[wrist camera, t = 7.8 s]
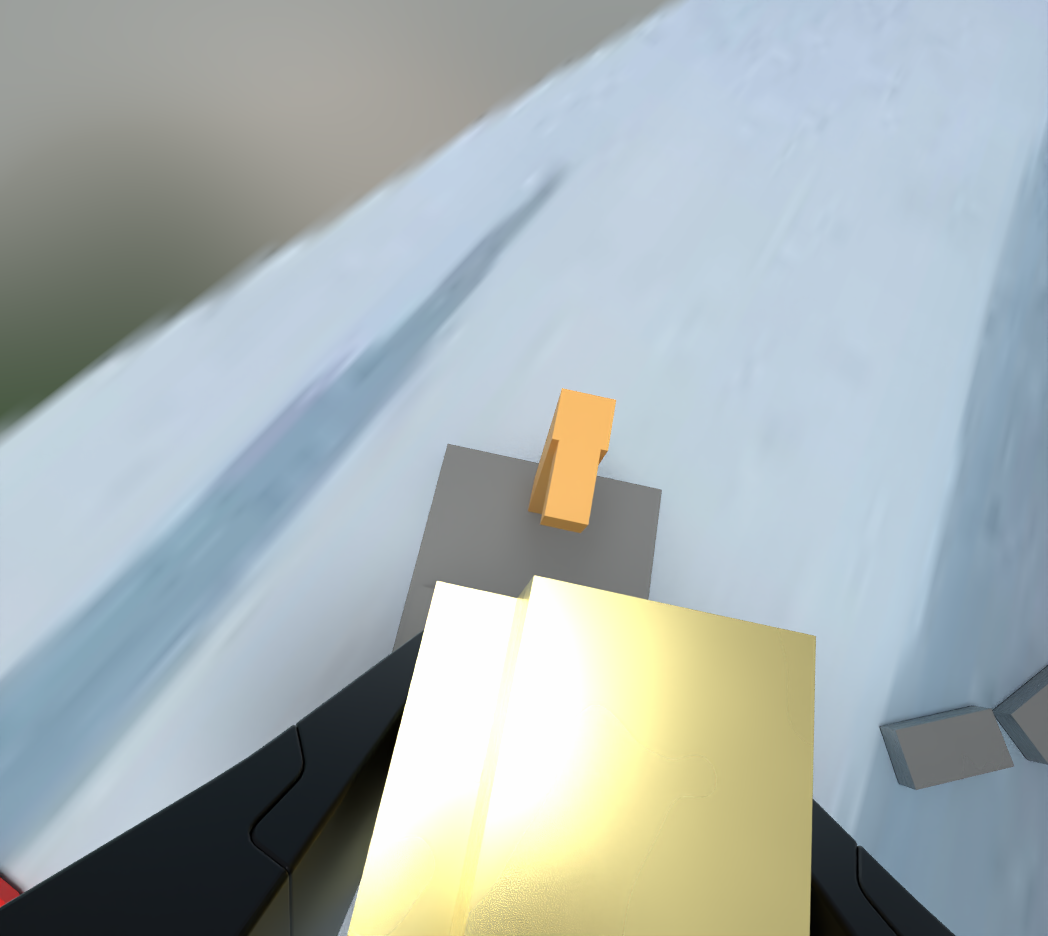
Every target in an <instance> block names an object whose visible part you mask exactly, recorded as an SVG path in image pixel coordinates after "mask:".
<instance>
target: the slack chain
mask: <svg viewBox="0 0 1048 936" xmlns="http://www.w3.org/2000/svg"><path fill="white" fill-rule="evenodd" d="M995 717H996V718H997V720H998V721H999V722H1000V724H1001V725H1002V726H1003V728H1004V729H1005V730H1006V732H1007V733H1008V734H1009V736H1010V737H1011V738H1012V740H1013V741H1014V742H1015V744H1016V745H1017V746H1018V748H1019V749H1020V750H1021V752H1022V753H1023V754H1024V756H1025V757H1026V758H1027V760H1030V761H1034V762H1038V763H1043V764H1047V765H1048V666H1047V667H1046V668H1044V669H1043V670H1042V671H1041V672H1039V673H1038V674H1037V675H1036V676H1035V677H1033V678H1032V679H1031V680H1030V681H1028V682H1027V683H1026V684H1025V685H1024V686H1022V687H1021V688H1020V689H1019V690H1017V691H1016V692H1015V693H1014V694H1012V695H1011V696H1010V697H1009V698H1008V699H1006V700H1005V701H1004V702H1003V703H1001V704H1000V705H999V706H998V707H997V708H995V709H994V710H993V711H992V709H991V708H984V707H977V706H970V707H965V708H961V709H956V710H952V711H947V712H943V713H938V714H934V715H929V716H925V717H920V718H916V719H911V720H907V721H902V722H898V723H893V724H889V725H884V726H880V729H881V732H882V735H883V737H884V740H885V743H886V746H887V749H888V752H889V755H890V758H891V761H892V764H893V767H894V770H895V773H896V776H897V779H898V782H899V784H901V785H904V786H907V787H909V788H912V789H915V790H918V789H922V788H926V787H930V786H934V785H939V784H943V783H947V782H951V781H955V780H959V779H964V778H968V777H972V776H976V775H980V774H984V773H989V772H993V771H997V770H1001V769H1005V768H1009V767H1013V766H1014V764H1013V761H1012V759H1011V756H1010V754H1009V751H1008V749H1007V746H1006V744H1005V741H1004V739H1003V736H1002V734H1001V731H1000V729H999V726H998V724H997V721H996V719H995Z"/></svg>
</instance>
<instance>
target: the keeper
mask: <svg viewBox="0 0 1048 936" xmlns="http://www.w3.org/2000/svg"><path fill="white" fill-rule="evenodd" d="M615 404H616V400H614V399H609V398H605V397H600V396H595V395H591V394H586V393H581V392H577V391H572V390H567V389H563V388H562V390H561V394H560V397H559V400H558V403H557V407H556V410H555V413H554V416H553V420H552V423H551V426H550V429H549V433H548V436H547V439H546V442H545V446H544V449H543V452H542V455H541V459H540V462H539V463H535V462H530V461H525V460H521V459H516V458H511V457H507V456H502V455H497V454H493V453H488V452H483V451H479V450H474V449H469V448H465V447H460V446H456V445H451V444H448V445H447V449H446V452H445V456H444V460H443V464H442V467H441V471H440V475H439V479H438V482H437V486H436V490H435V494H434V497H433V501H432V505H431V509H430V512H429V516H428V520H427V524H426V527H425V531H424V535H423V539H422V542H421V546H420V550H419V554H418V557H417V561H416V565H415V569H414V572H413V576H412V580H411V584H410V587H409V591H408V595H407V599H406V602H405V606H404V610H403V614H402V617H401V621H400V625H399V629H398V632H397V636H396V640H395V644H394V647H393V651H392V652H394V651H395V650H396V649H398V648H399V647H400V646H402V645H403V644H405V643H406V642H407V641H409V640H410V639H411V638H413V637H414V636H415V635H417V634H418V633H419V632H421V631H422V630H424V629H425V627H426V623H427V619H428V615H429V611H430V607H431V603H432V599H433V595H434V591H435V587H436V583H437V581H438V582H443V583H448V584H452V585H457V586H461V587H466V588H471V589H475V590H480V591H485V592H489V593H494V594H499V595H503V596H508V597H513V598H518V596H519V595H520V594H521V592H522V591H523V590H524V588H525V587H526V586H527V584H528V583H529V582H530V580H531V579H532V578H533V576H539V577H544V578H548V579H553V580H558V581H562V582H567V583H571V584H576V585H581V586H585V587H590V588H595V589H599V590H604V591H609V592H613V593H618V594H623V595H627V596H632V597H636V598H641V599H646V600H648V597H649V588H650V580H651V572H652V564H653V556H654V548H655V540H656V532H657V524H658V516H659V508H660V500H661V492H662V490H660V489H656V488H651V487H646V486H642V485H637V484H632V483H628V482H623V481H618V480H614V479H609V478H604V477H600V476H597V470H598V465H599V463H600V462H601V460H602V459H603V457H604V456H605V454H606V453H607V451H608V447H609V441H610V434H611V428H612V422H613V416H614V410H615Z"/></svg>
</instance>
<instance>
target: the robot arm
mask: <svg viewBox="0 0 1048 936" xmlns="http://www.w3.org/2000/svg"><path fill="white" fill-rule="evenodd" d="M424 631H425V629H424V630H422V631H421V632H419V633H418V634H417V635H415V636H414V637H413V638H411V639H410V640H409V641H407V642H406V643H405V644H403V645H402V646H400V647H399V648H398V649H396V650H395V651H394V652H392V653H391V654H390V655H388V656H387V657H386V658H384V659H383V660H382V661H380V662H379V663H377V664H376V665H375V666H373V667H372V668H371V669H369V670H368V671H367V672H365V673H364V674H363V675H361V676H360V677H358V678H357V679H356V680H354V681H353V682H352V683H350V684H349V685H348V686H346V687H345V688H344V689H342V690H341V691H340V692H338V693H337V694H335V695H334V696H333V697H331V698H330V699H329V700H327V701H326V702H325V703H323V704H322V705H321V706H319V707H318V708H316V709H315V710H314V711H312V712H311V713H310V714H308V715H307V716H306V717H304V718H303V719H302V720H300V721H299V722H298V723H297V724H296V726H295V725H293V726H291V727H290V728H288V729H287V730H286V731H284V732H283V733H282V734H280V735H279V736H277V737H276V738H275V739H273V740H272V741H270V742H269V743H268V744H266V745H265V746H263V747H262V748H260V749H259V750H258V751H256V752H255V753H253V754H252V755H250V756H249V757H247V758H246V759H244V760H243V761H241V762H240V763H238V764H236V765H235V766H233V767H232V768H230V769H229V770H227V771H225V772H224V773H222V774H221V775H219V776H217V777H216V778H214V779H213V780H211V781H209V782H208V783H206V784H204V785H203V786H201V787H199V788H198V789H196V790H194V791H193V792H191V793H189V794H188V795H186V796H184V797H183V798H181V799H179V800H178V801H176V802H174V803H173V804H171V805H169V806H168V807H166V808H164V809H163V810H161V811H159V812H158V813H156V814H154V815H153V816H151V817H149V818H148V819H146V820H144V821H143V822H141V823H139V824H138V825H136V826H134V827H133V828H131V829H129V830H128V831H126V832H124V833H123V834H121V835H119V836H118V837H116V838H114V839H113V840H111V841H109V842H108V843H106V844H104V845H103V846H101V847H99V848H98V849H96V850H94V851H93V852H91V853H89V854H88V855H86V856H84V857H83V858H81V859H79V860H78V861H76V862H74V863H73V864H71V865H69V866H68V867H66V868H64V869H63V870H61V871H59V872H58V873H56V874H54V875H53V876H51V877H49V878H48V879H46V880H44V881H43V882H41V883H39V884H38V885H36V886H34V887H33V888H31V889H29V890H28V891H26V892H24V893H23V894H21V895H19V896H18V897H16V898H14V899H13V900H11V901H9V902H8V903H6V904H4V905H3V906H1V907H0V936H337V935H338V933H339V931H340V928H341V926H342V924H343V921H344V919H345V916H346V914H347V912H348V909H349V907H350V905H351V902H352V900H353V898H354V895H355V893H356V891H357V888H358V886H359V883H360V881H361V879H362V875H363V871H364V868H365V864H366V860H367V856H368V852H369V848H370V844H371V840H372V836H373V832H374V828H375V824H376V820H377V816H378V812H379V808H380V804H381V800H382V796H383V793H384V789H385V785H386V781H387V777H388V773H389V769H390V765H391V761H392V757H393V753H394V749H395V745H396V741H397V737H398V733H399V729H400V725H401V722H402V718H403V714H404V710H405V706H406V702H407V698H408V694H409V690H410V686H411V682H412V678H413V674H414V670H415V666H416V662H417V658H418V654H419V650H420V647H421V643H422V639H423V635H424ZM810 936H955V935H954V934H953V933H952V932H951V931H950V930H949V929H948V928H947V927H945V926H944V925H943V924H942V923H941V922H940V921H939V920H938V919H937V918H936V917H935V916H933V915H932V914H931V913H930V912H929V911H928V910H927V909H926V908H925V907H924V906H923V905H921V904H920V903H919V902H918V901H917V900H916V899H915V898H914V897H913V896H912V895H911V894H910V893H909V892H908V891H907V890H906V889H905V888H904V887H903V886H902V885H901V884H900V883H899V882H897V881H896V880H895V879H894V878H893V877H892V876H891V875H890V874H889V873H888V872H887V871H886V870H885V869H884V868H883V867H882V866H881V865H880V864H879V863H878V862H877V861H876V860H875V859H874V858H873V857H872V856H871V855H870V854H869V853H868V852H867V851H866V850H865V849H864V848H863V847H862V846H857V843H856V841H855V840H854V839H853V838H852V837H851V836H850V835H849V834H848V833H847V832H846V831H845V830H844V829H843V828H842V827H841V826H840V825H839V824H838V823H837V822H836V821H835V820H834V819H833V818H832V817H831V816H830V815H829V814H828V813H827V812H826V811H825V810H824V809H823V808H822V807H821V806H820V805H819V804H818V803H817V802H816V801H815V800H814V799H813V798H812V845H811V893H810Z"/></svg>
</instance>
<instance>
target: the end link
mask: <svg viewBox="0 0 1048 936" xmlns="http://www.w3.org/2000/svg"><path fill="white" fill-rule="evenodd" d="M815 650H816V636H813V635H808V634H804V633H799V632H794V631H790V630H785V629H780V628H776V627H771V626H766V625H762V624H757V623H753V622H748V621H743V620H739V619H734V618H729V617H725V616H720V615H715V614H711V613H706V612H701V611H697V610H692V609H688V608H683V607H678V606H674V605H669V604H664V603H660V602H655V601H650V600H646V599H641V598H636V597H632V596H627V595H623V594H618V593H613V592H609V591H604V590H599V589H595V588H590V587H585V586H581V585H576V584H571V583H567V582H562V581H558V580H553V579H548V578H544V577H539V576H533V578H532V579H531V580H530V582H529V583H528V584H527V586H526V587H525V588H524V590H523V591H522V592H521V594H520V595H519V596H518V598H513V597H508V596H503V595H499V594H494V593H489V592H485V591H480V590H475V589H471V588H466V587H461V586H457V585H452V584H448V583H443V582H438V581H437V583H436V587H435V591H434V595H433V599H432V603H431V607H430V611H429V615H428V619H427V623H426V627H425V631H424V635H423V639H422V643H421V647H420V650H419V654H418V658H417V662H416V666H415V670H414V674H413V678H412V682H411V686H410V690H409V694H408V698H407V702H406V706H405V710H404V714H403V718H402V722H401V725H400V729H399V733H398V737H397V741H396V745H395V749H394V753H393V757H392V761H391V765H390V769H389V773H388V777H387V781H386V785H385V789H384V793H383V796H382V800H381V804H380V808H379V812H378V816H377V820H376V824H375V828H374V832H373V836H372V840H371V844H370V848H369V852H368V856H367V860H366V864H365V868H364V871H363V875H362V879H361V883H360V887H359V891H358V895H357V899H356V903H355V907H354V911H353V915H352V919H351V923H350V927H349V931H348V935H347V936H810V893H811V845H812V796H813V747H814V699H815Z"/></svg>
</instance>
